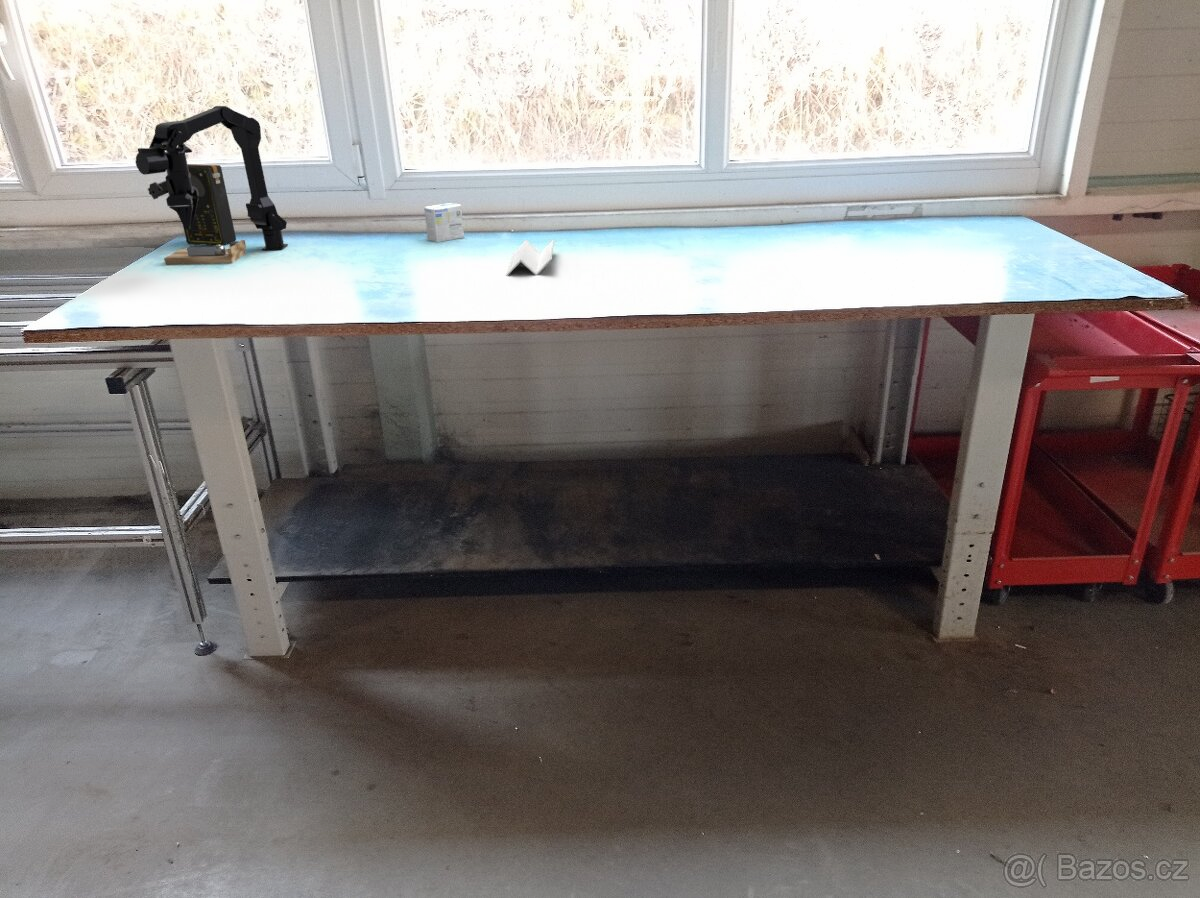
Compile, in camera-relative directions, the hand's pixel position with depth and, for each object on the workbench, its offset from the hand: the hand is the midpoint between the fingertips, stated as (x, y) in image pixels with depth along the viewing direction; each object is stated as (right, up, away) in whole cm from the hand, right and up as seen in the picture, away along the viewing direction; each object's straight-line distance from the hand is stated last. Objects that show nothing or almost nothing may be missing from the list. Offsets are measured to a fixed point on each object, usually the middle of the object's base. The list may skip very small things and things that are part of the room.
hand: (189, 226), depth 247 cm
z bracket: (+99, -11, +3) cm, 100 cm away
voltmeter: (-10, +4, +36) cm, 38 cm away
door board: (-2, -6, +15) cm, 17 cm away
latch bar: (0, -6, +11) cm, 13 cm away
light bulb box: (+68, +5, +35) cm, 77 cm away
